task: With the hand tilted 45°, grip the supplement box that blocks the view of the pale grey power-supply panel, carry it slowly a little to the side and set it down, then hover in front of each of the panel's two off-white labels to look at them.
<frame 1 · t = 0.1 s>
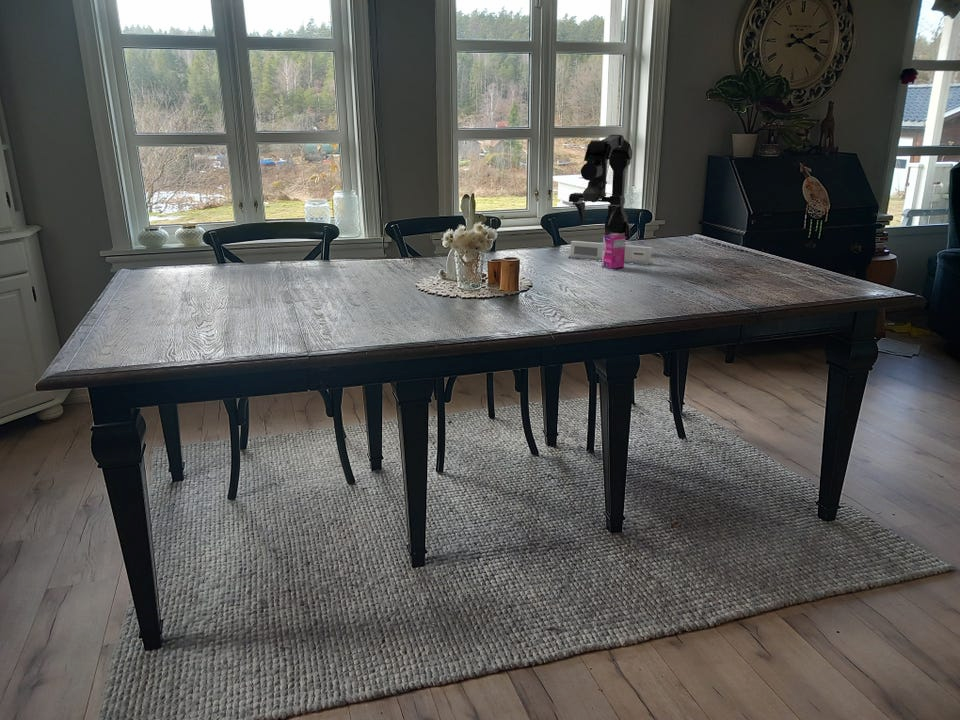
hand: (595, 223, 253), 15 cm above the table, tool pointing down, fingers open, 9 cm apart
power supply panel: (609, 260, 265), on the table
supplement box: (612, 268, 253), on the table
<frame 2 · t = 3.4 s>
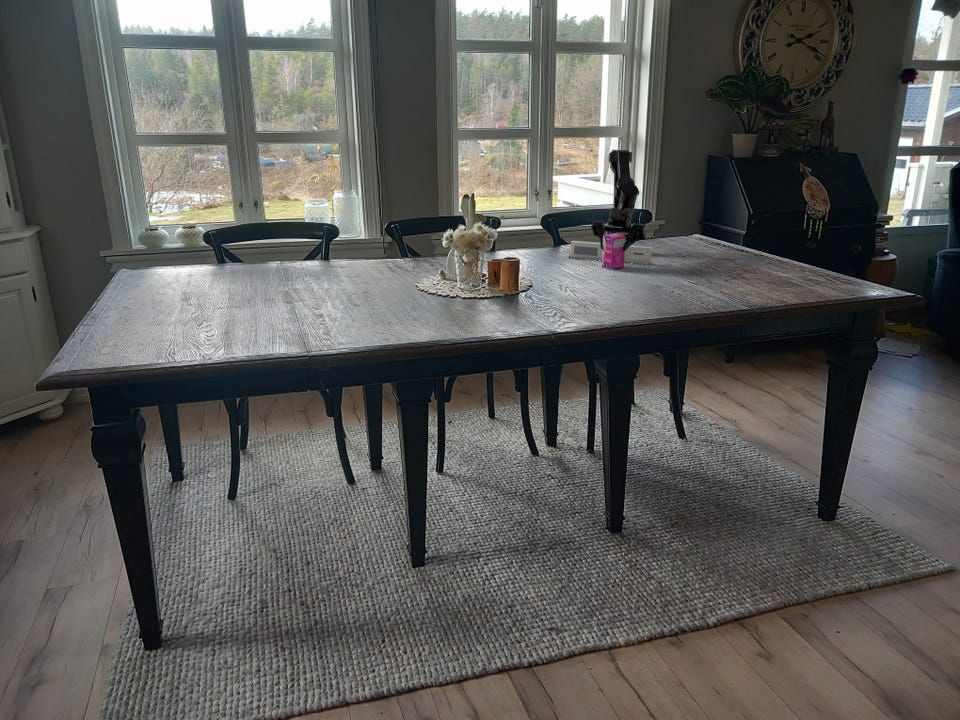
hand: (612, 249, 250), 7 cm above the table, tool tilted 45°, fingers closed on supplement box, 8 cm apart
supplement box: (612, 268, 253), on the table, touching gripper
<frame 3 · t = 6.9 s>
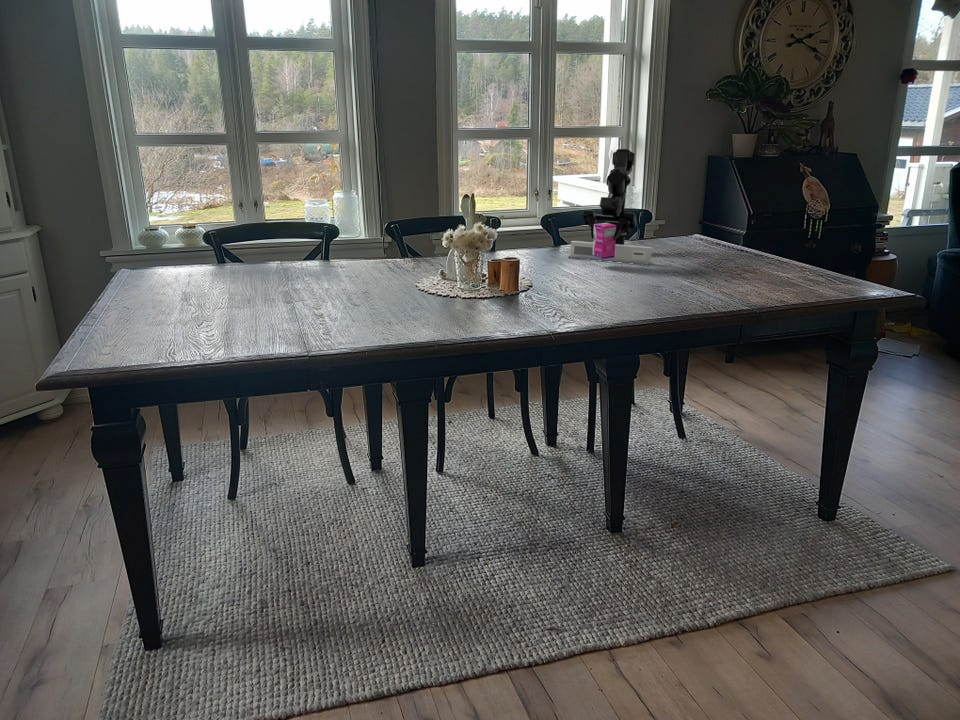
hand: (603, 238, 250), 10 cm above the table, tool tilted 45°, fingers closed on supplement box, 8 cm apart
supplement box: (603, 257, 253), point 3 cm above the table, touching gripper
when the fingers open (8 cm above the table, at t = 10.0 s): supplement box drops 1 cm, on the table.
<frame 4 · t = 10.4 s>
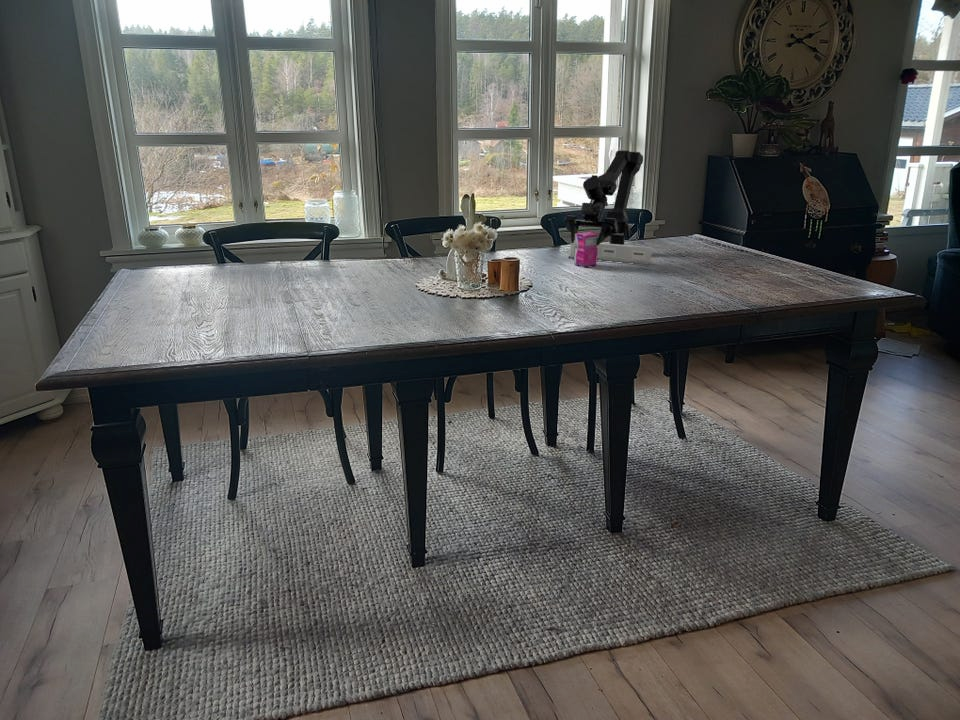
hand: (584, 243, 253), 8 cm above the table, tool tilted 45°, fingers open, 9 cm apart
supplement box: (585, 266, 257), on the table
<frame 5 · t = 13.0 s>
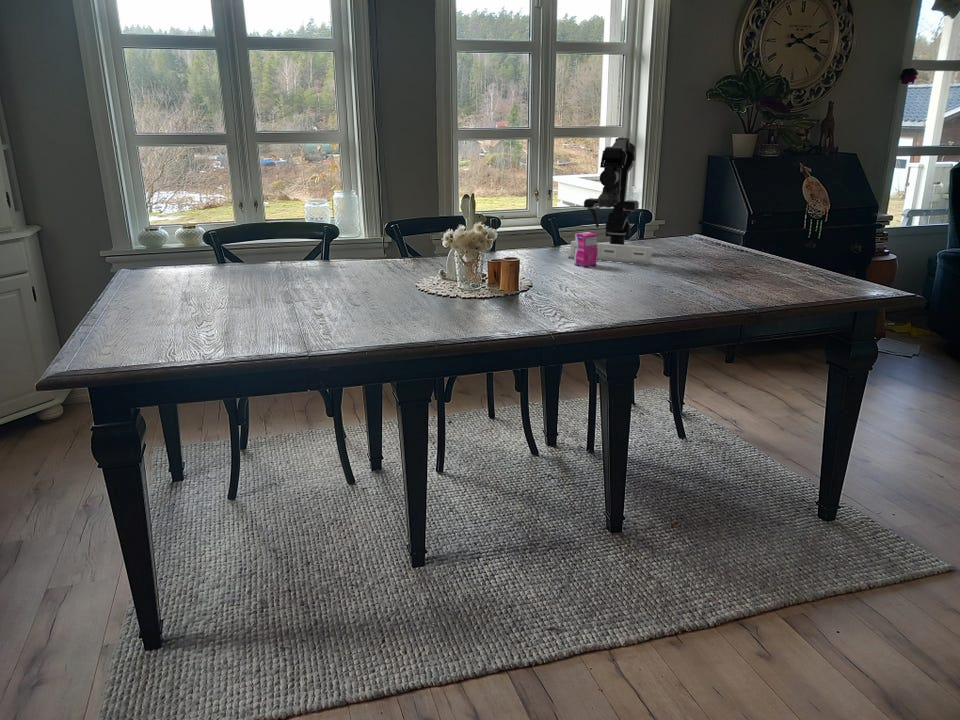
hand: (609, 228, 260), 12 cm above the table, tool pointing down, fingers open, 9 cm apart
nothing on the table moved.
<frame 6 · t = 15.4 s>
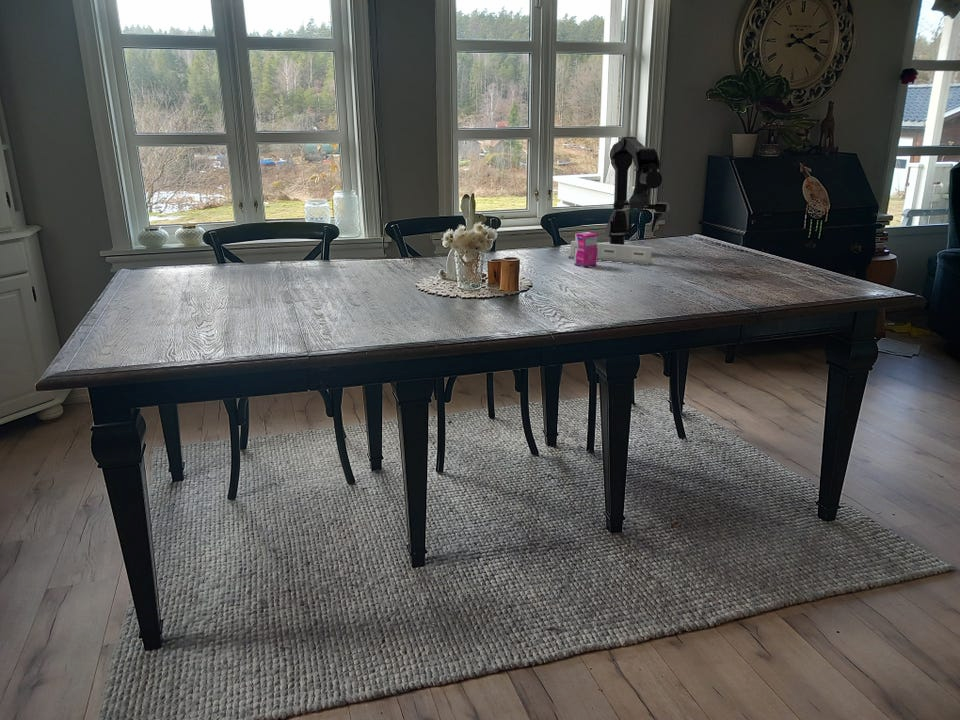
hand: (639, 230, 255), 12 cm above the table, tool pointing down, fingers open, 9 cm apart
nothing on the table moved.
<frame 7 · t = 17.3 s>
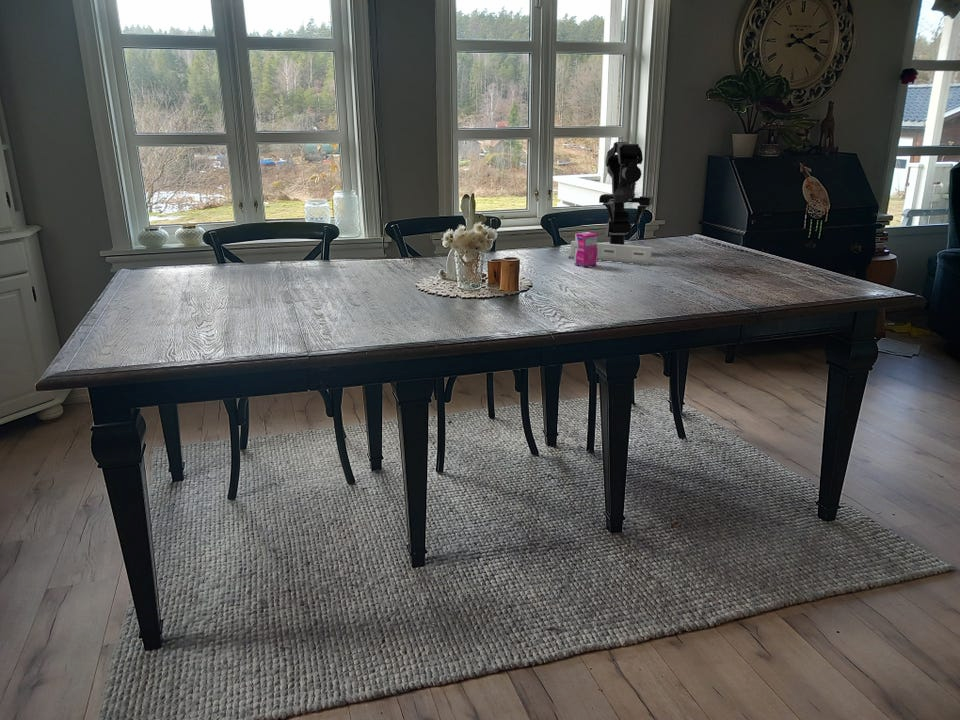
hand: (624, 223, 265), 13 cm above the table, tool pointing down, fingers open, 9 cm apart
nothing on the table moved.
at the end: supplement box inside the target area (0.9 cm from its centre), on the table; supplement box tilted 0°; the gripper is holding nothing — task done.
